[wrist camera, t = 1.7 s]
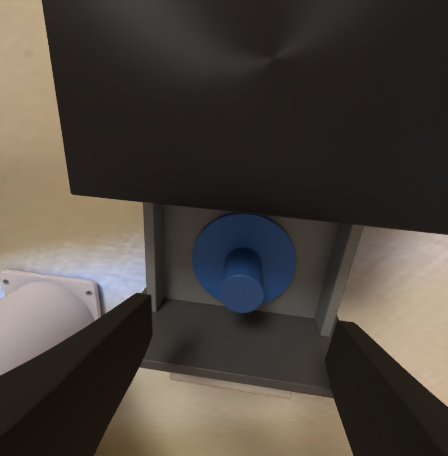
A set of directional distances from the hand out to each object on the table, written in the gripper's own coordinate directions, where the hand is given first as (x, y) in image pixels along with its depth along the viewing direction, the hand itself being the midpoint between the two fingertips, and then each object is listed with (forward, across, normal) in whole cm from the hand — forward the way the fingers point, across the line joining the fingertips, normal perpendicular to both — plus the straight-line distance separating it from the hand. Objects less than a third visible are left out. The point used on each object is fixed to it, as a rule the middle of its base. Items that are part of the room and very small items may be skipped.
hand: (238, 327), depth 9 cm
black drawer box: (+7, 0, -9) cm, 12 cm away
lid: (+6, 0, 0) cm, 6 cm away
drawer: (+7, 0, +1) cm, 7 cm away
